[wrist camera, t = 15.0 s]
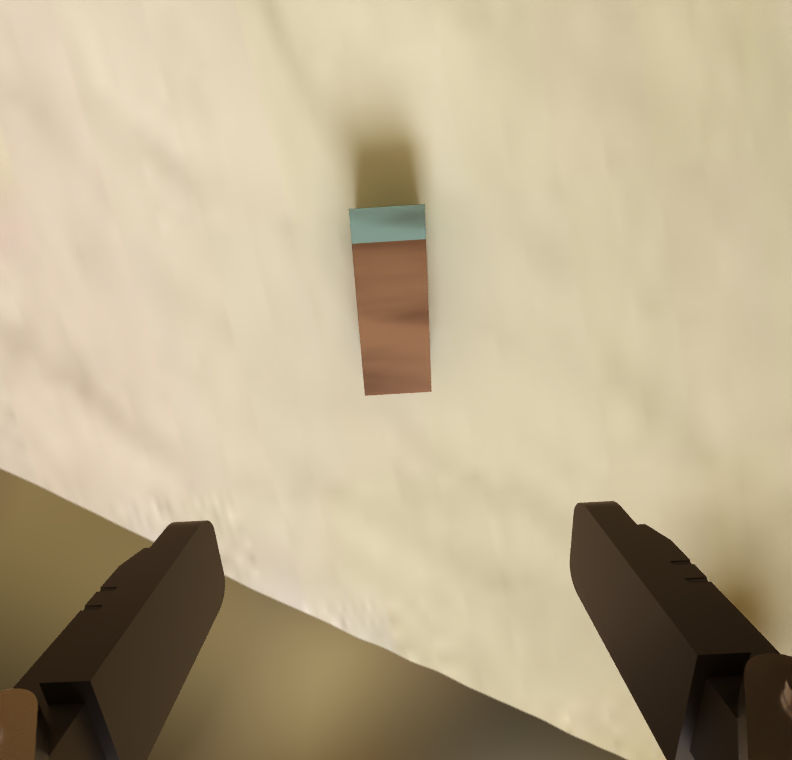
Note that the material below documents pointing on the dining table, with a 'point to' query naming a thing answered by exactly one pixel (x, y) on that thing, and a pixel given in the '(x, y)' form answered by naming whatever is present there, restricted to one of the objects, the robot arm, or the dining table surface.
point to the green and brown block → (392, 298)
